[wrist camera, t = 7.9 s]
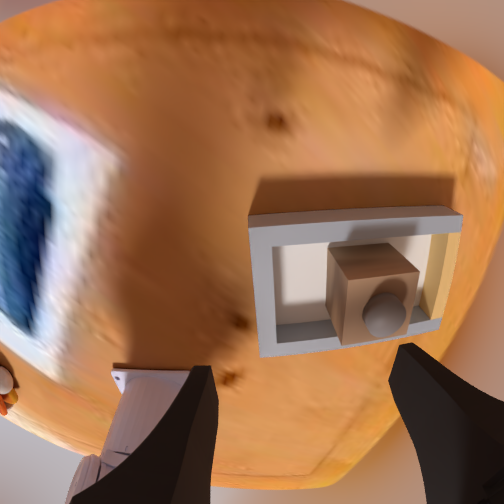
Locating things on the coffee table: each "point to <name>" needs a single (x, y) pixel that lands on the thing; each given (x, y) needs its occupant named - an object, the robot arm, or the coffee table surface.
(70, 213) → the coffee table surface
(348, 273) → the block with grey knob
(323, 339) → the tray
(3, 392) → the rainbow flower
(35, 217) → the coffee table surface
